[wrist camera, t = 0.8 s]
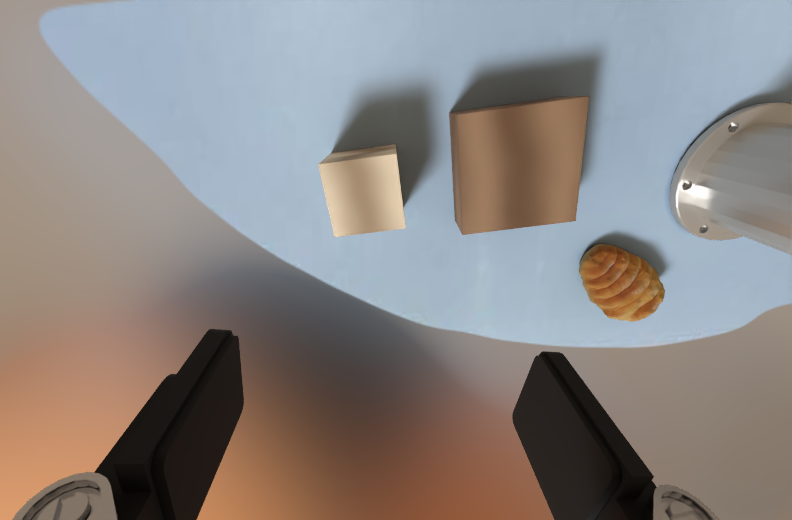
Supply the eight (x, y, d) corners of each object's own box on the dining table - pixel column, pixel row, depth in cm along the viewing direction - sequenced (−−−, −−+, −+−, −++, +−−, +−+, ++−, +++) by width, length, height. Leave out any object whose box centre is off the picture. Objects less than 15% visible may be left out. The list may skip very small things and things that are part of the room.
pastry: (557, 269, 37) (575, 287, 33) (610, 225, 34) (634, 239, 31) (607, 315, 39) (627, 336, 36) (658, 277, 37) (686, 295, 34)
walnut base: (564, 96, 29) (589, 96, 25) (555, 207, 33) (575, 220, 30) (449, 112, 29) (457, 114, 26) (455, 220, 34) (462, 234, 30)
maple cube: (395, 144, 31) (396, 153, 25) (403, 207, 33) (405, 228, 28) (331, 152, 31) (318, 164, 25) (343, 214, 33) (334, 236, 28)
